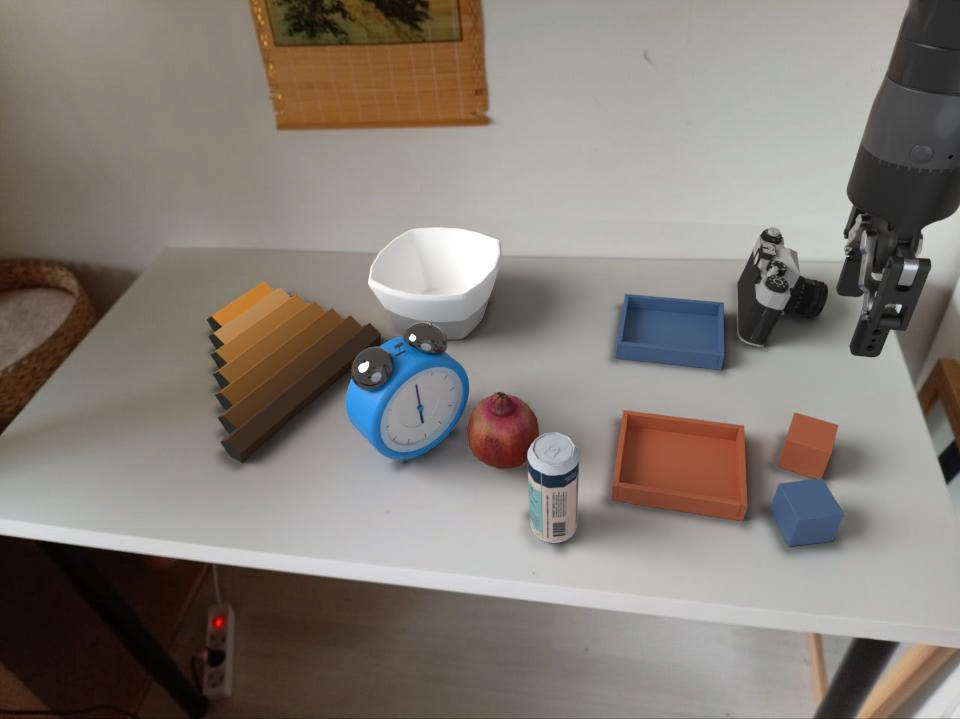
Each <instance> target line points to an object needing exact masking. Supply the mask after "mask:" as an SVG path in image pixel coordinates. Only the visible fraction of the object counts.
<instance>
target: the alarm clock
mask: <svg viewBox="0 0 960 719" xmlns="http://www.w3.org/2000/svg"><path fill="white" fill-rule="evenodd" d="M448 341H449V339H447V337H446V335H445V333H444V332H443V330H441V329H440V328H439V327H438V326H436V325H434V324H432V323H431V322H430V323H427V322H419V323H415V324H412V325H411V326H409V327H408V328H407V329H406V331H404V333H403V335H402V336H399V337H395V338H392V339H390V340H388V341H385V342H384V343H382V344H380V345H379V346H378V347H369V348H366V349H364V350H363V351H361V352H360V353H359V354H358V355H357V356H356V357H355V359H354V361H353V363H352V366H351V370H350V376H351V379H350V381H349V384H348V387H347V391H346V396H345V409H346V414H347V418H348V419H349V421H350V423H351V425H352V426H353V427H354V428H355V429H356V430H357V431H358V432H359V433H360V434H361V435H362V436H363V437H364V438H365V439H366V441H367V442H369V444H370V445H371V446H372V447H373V448H374V449H375V450H376V451H377V452H378V453H379V454H381V455H382V456H384V457H385V458H389V459H392V460H400V464H405V461H406V460H408V459H413V458H416V457H419V456H421V455H424V454H426V453H427V452H429V451H431V450H432V449H433V448H435V447H437V446H438V445H440V443H441V442H443V441H444V440H445V439H446V438H447V437H448V436H449V435H451V434H452V431H453V430H454V429H455V427H456V426H457V424H458V423H459V421H460V420H461V418H462V416H463V415H464V412H465V409H466V407H467V404H468V400H469V395H470V381H469V376H468V374H467V371H466V370H465V368H464V367H463V365H462V364H461V363H460V362H459V361H458V360H456V359H455V358H454V357H452V356H451V355H450V354H449V353H447V352H446V351H447V349H448V345H449V342H448Z"/></svg>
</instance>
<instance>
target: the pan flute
mask: <svg viewBox="0 0 960 719" xmlns="http://www.w3.org/2000/svg"><path fill="white" fill-rule="evenodd" d="M206 322H207V323H208V325H209V327H210V328H211V330H212V331H213V333H211V334H210V335H208V338H209V340H210V342H211V344H212V345H213V347H214V348H215V350H214V351H213V352H212V353H211V354H210V357H211V359H212V360H213V361H214V363H215V365H216V367H217V368H218V369H217V370H216V371H215V372H213V373H212V376H213V377H214V379H215V381H216V382H217V384H218V386H219V387H220V388H221V390H219V391H218V392H217V393H215V394H214V396H215V398H216V399H217V401H218V402H219V404H220V406H221V407H222V409H223V410H225V411H224V412H222V413H221V414H220V415H219V416H217V417H216V418H217V419H218V421H219V423H220V424H221V426H222V427H223V429H224V431H225V432H226V433H228V434H227V436H225V437H224V438H223V439H222V440H220V444H221V445H222V447H223V449H224V450H225V451H226V453H227V455H228V456H229V457H230V458H232V459H234V460H236V461H237V462H239V463H240V464H243V463H244V462H245V461H246V460H247V459H249V458H250V457H251V456H252V455H254V454H255V453H256V452H257V451H258V450H259V449H260V448H261V447H263V446H264V445H265V444H266V443H268V441H270V440H271V439H272V438H273V437H274V436H275V435H277V434H278V433H279V432H280V431H281V430H283V428H285V427H286V426H288V424H290V422H292V421H293V420H294V419H295V418H297V417H298V416H299V415H300V414H301V413H302V412H303V411H305V410H306V409H307V408H308V407H309V406H310V405H312V404H313V403H314V402H315V401H316V400H317V399H319V398H320V397H321V396H322V395H323V394H324V393H326V392H327V391H328V390H329V389H330V388H331V387H333V386H334V385H335V384H336V383H337V382H338V381H339V380H341V379H342V378H343V377H344V376H346V375H347V374H348V373H349V372H351V366H352V363H353V361H354V359H355V357H356V356H357V355H358V354H359V353H360V352H361V351H363V350H364V349H366V348H369V347H379V346H381V341H382V333H381V332H380V331H379V330H378V329H377V328H376V327H375V326H374V325H373V324H372V323H371V322H369V323H367V324H364V325H361V323H359V322H358V321H357V320H356V319H355V318H354V317H353V316H352V314H350V315H349V316H347V317H342V316H341V315H340V314H339V313H338V312H337V311H336V310H335V309H334V308H333V307H331V308H330V309H328V310H324V309H323V308H322V307H321V306H320V305H319V304H318V303H317V302H316V301H315V300H313V301H311V302H310V303H307V302H306V301H305V300H304V299H303V298H302V297H301V296H300V295H299V294H298V293H295V295H293V296H291V295H289V294H288V293H287V292H286V291H285V290H284V289H283V288H282V287H279V288H277V289H275V290H274V289H273V288H272V287H271V286H270V285H269V284H268V283H267V282H266V281H265V280H263V281H261V282H260V283H258V284H257V285H256V286H254V287H253V288H251V289H250V290H247V291H246V292H244V293H243V294H242V295H240V296H239V297H238V298H236V299H234V300H233V301H232V302H230V303H229V304H227V305H225V306H224V307H223V308H220V310H218V311H216V312H215V313H213V314H212V315H211V316H209V317H208V318H206Z"/></svg>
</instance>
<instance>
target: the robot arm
mask: <svg viewBox="0 0 960 719" xmlns="http://www.w3.org/2000/svg"><path fill="white" fill-rule="evenodd" d="M846 196H847V198H848V200H849V202H850V203H851V205H852V207H851V210H850V213H849V216H848V219H847V222H846V225H845V228H844V229H843V233H842V234H843V238H844V240H847V242H846V244H845V245H844V248H843V251H844V255H845V258H844V262H843V265H842V268H841V272H840V274H839V277H838V280H837V283H836V287H835V289H836V294H837V296H840V297H849V298H860V297H862V296H863V299H862V305H861V310H860V316H859V318H858V321H857V324H856V327H855V330H854V332H853V335H852V336H851V337H852V338H851V340H850V343H849V345H848V347H849V352H850V354H851V355H852V356H853V357H854V356H855V357H863V358H878V357H879V356H880V355H881V353H882V351H883V350H884V346H885V344H886V341H887V339H888V337H889V335H890V331H897V332H906V331H907V329H908V327H909V325H910V322H911V321H912V320H911V319H912V317H913V314H914V312H915V309H916V307H917V305H918V302H919V300H920V297H921V294H922V292H923V289H924V287H925V285H926V282H927V279H928V277H929V274H930V271H931V270H932V259H930V258H927V257H918V256H919V255H920V254H921V253H922V250H923V244H924V235H923V233H922V230H923V229H924V228H926V227H928V226H930V225H931V224H934V223H937V222H941V221H944V220H946V219H948V218H950V217H952V216H953V215H954V214H955V213H956V212H957V211H958V209H959V208H960V0H908V4H907V6H906V10H905V12H904V15H903V17H902V20H901V23H900V26H899V30H898V33H897V35H896V40H895V43H894V46H893V49H892V54H891V55H890V60H889V62H888V66H887V70H886V72H885V74H884V77H883V79H882V82H881V84H880V86H879V88H878V90H877V93H876V95H875V98H874V100H873V101H872V104H871V106H870V110H869V114H868V117H867V120H866V124H865V128H864V131H863V132H862V138H861V139H860V143H859V146H858V149H857V153H856V155H855V159H854V162H853V166H852V170H851V172H850V176H849V180H848V182H847V185H846ZM873 274H875V275H876V274H877V275H882V276H881V278H880V280H877V279H875V278H874V277H873ZM887 305H889V306H887Z"/></svg>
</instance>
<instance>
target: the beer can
mask: <svg viewBox="0 0 960 719" xmlns="http://www.w3.org/2000/svg"><path fill="white" fill-rule="evenodd" d="M527 458H528V461H527V479H528V480H527V481H528V482H527V483H528V504H529V506H528V507H529V525H530V529H531V532H532V533H533V534H534V536H535V537H537V538H538V539H539V540H540V541H543V542H546V543H549V544H550V543H551V544H553V543H554V544H556V543H557V544H558V543H562V542H565V541H567V540H569V539H571V537H573V535H574V534H575V533H576V530H577V526H578V503H579V502H578V501H579V476H580V474H579V473H580V471H579V470H580V452H579V449H578V447H577V445H576V444H575V443H574V442H573V441H572V439H571V437H570V436H567V435H566V434H563V433H560V432H558V431H555V432H544V433H542V434H541V435H540V436H539V437H538V438H536V439H535V440H534V442H533V443H532V444H531V446H530V448H529V450H528V456H527Z"/></svg>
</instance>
